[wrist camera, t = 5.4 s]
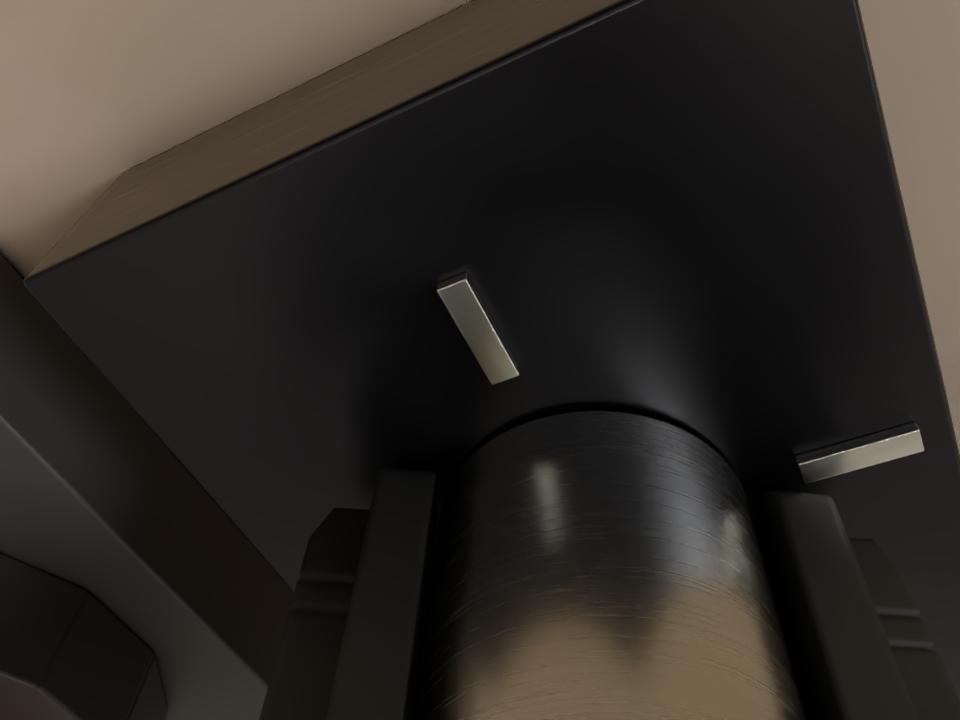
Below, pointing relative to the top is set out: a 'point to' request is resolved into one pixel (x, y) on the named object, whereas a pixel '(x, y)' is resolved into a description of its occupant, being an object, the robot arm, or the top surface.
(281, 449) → the dial panel
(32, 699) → the button block
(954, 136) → the top surface
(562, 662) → the dial
